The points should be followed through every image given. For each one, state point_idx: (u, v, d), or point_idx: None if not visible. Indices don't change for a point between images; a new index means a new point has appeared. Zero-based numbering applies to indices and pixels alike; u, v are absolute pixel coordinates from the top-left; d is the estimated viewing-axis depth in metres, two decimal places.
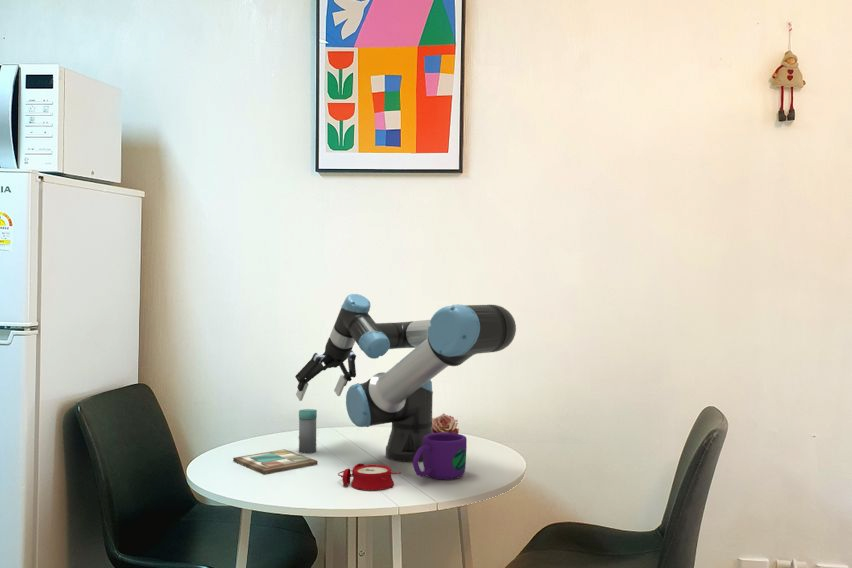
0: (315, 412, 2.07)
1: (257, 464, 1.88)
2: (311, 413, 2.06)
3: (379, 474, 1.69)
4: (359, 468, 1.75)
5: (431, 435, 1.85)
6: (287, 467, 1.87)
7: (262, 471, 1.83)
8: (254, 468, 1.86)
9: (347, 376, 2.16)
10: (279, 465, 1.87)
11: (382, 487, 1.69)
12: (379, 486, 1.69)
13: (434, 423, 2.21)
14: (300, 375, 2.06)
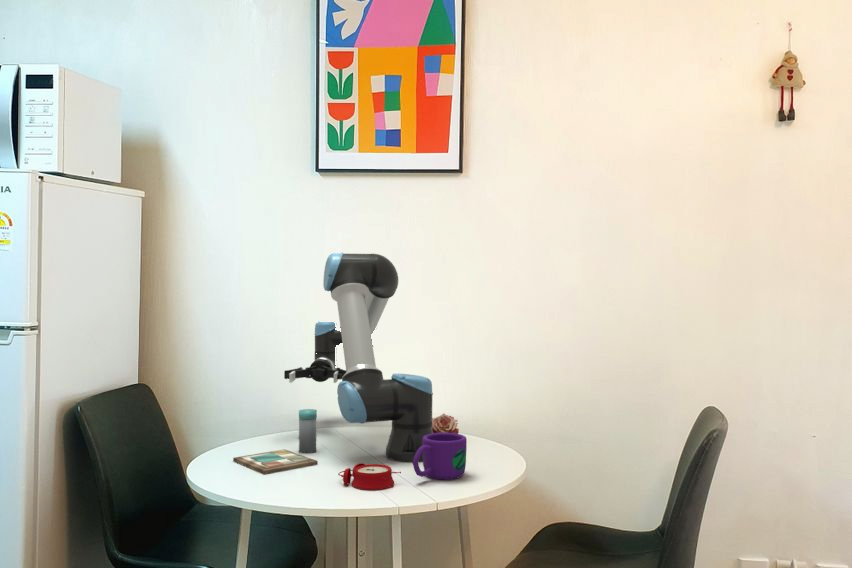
0: (315, 412, 2.07)
1: (257, 464, 1.88)
2: (311, 413, 2.06)
3: (380, 474, 1.69)
4: (359, 468, 1.75)
5: (431, 435, 1.85)
6: (287, 467, 1.87)
7: (262, 471, 1.83)
8: (254, 468, 1.86)
9: (337, 371, 2.26)
10: (279, 465, 1.87)
11: (383, 486, 1.69)
12: (380, 485, 1.69)
13: (434, 423, 2.21)
14: None
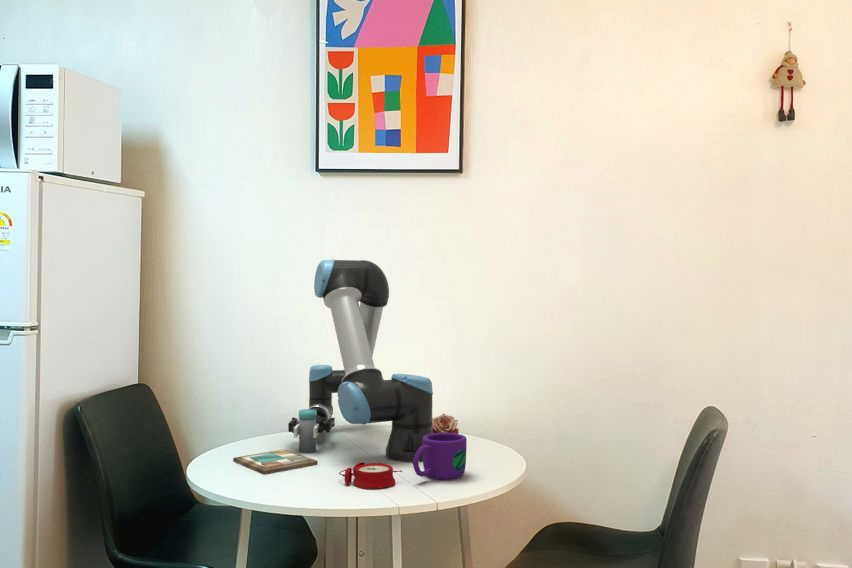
0: (315, 412, 2.07)
1: (257, 464, 1.88)
2: (311, 413, 2.06)
3: (381, 472, 1.70)
4: (360, 467, 1.76)
5: (431, 435, 1.85)
6: (287, 467, 1.87)
7: (262, 471, 1.83)
8: (254, 468, 1.86)
9: None
10: (279, 465, 1.87)
11: (384, 485, 1.70)
12: (382, 484, 1.70)
13: (434, 423, 2.21)
14: None
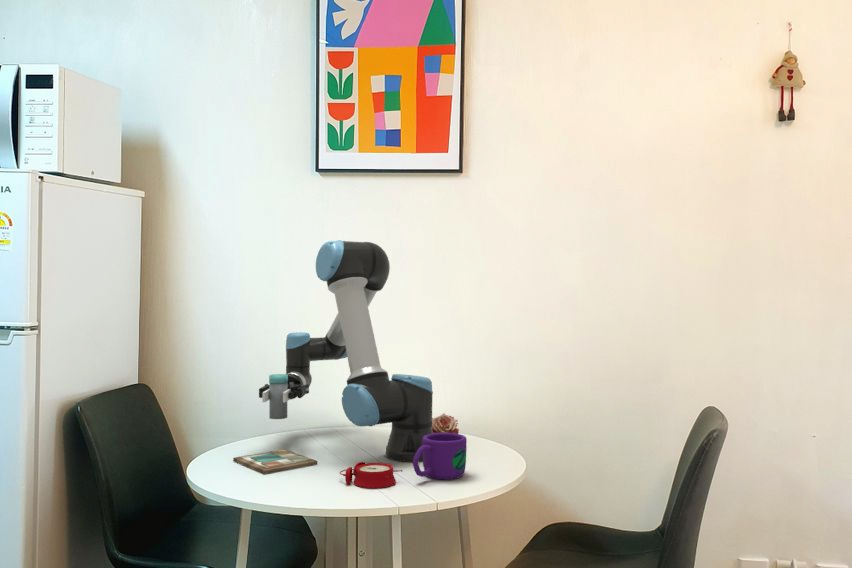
0: (286, 376, 1.99)
1: (257, 464, 1.88)
2: (281, 377, 1.98)
3: (382, 472, 1.71)
4: (361, 466, 1.77)
5: (431, 435, 1.85)
6: (287, 467, 1.87)
7: (262, 471, 1.83)
8: (254, 468, 1.86)
9: None
10: (279, 465, 1.87)
11: (385, 485, 1.71)
12: (382, 484, 1.70)
13: (434, 423, 2.21)
14: None
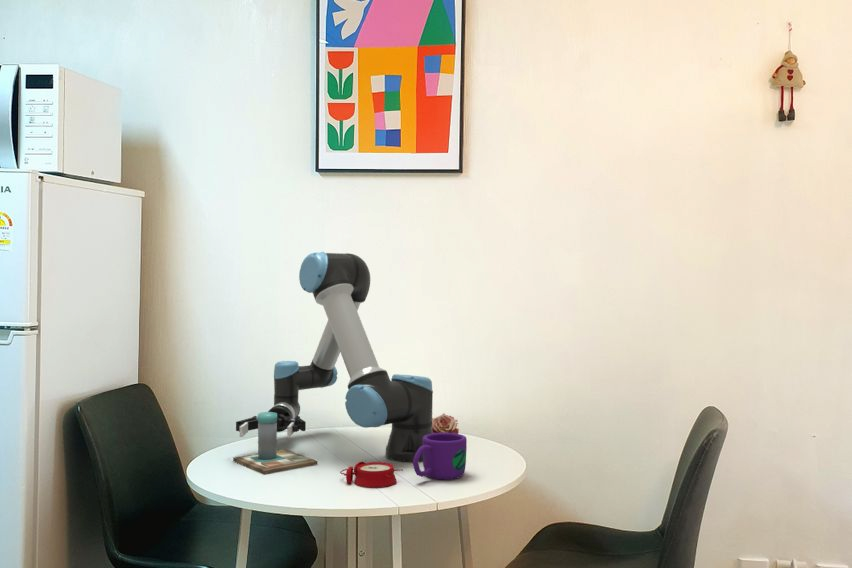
0: (275, 416, 1.93)
1: (257, 464, 1.88)
2: (271, 417, 1.92)
3: (383, 471, 1.72)
4: (361, 466, 1.77)
5: (431, 435, 1.85)
6: (287, 467, 1.87)
7: (262, 471, 1.83)
8: (254, 468, 1.86)
9: (294, 421, 1.99)
10: (279, 465, 1.87)
11: (386, 484, 1.71)
12: (383, 483, 1.71)
13: (434, 423, 2.21)
14: None
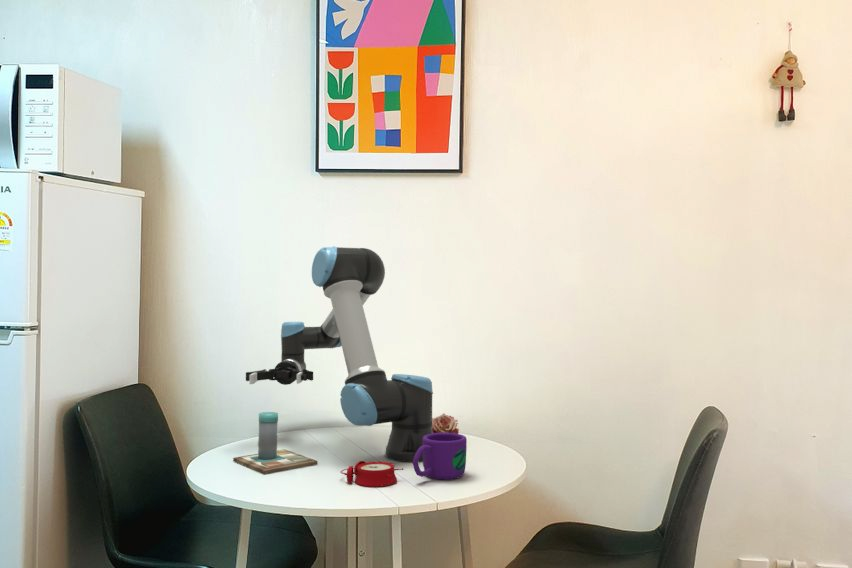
0: (276, 415, 1.94)
1: (257, 464, 1.88)
2: (272, 416, 1.93)
3: (384, 470, 1.72)
4: (362, 465, 1.78)
5: (431, 435, 1.85)
6: (287, 467, 1.87)
7: (262, 471, 1.83)
8: (254, 468, 1.86)
9: None
10: (279, 465, 1.87)
11: (387, 483, 1.72)
12: (384, 482, 1.72)
13: (434, 423, 2.21)
14: None
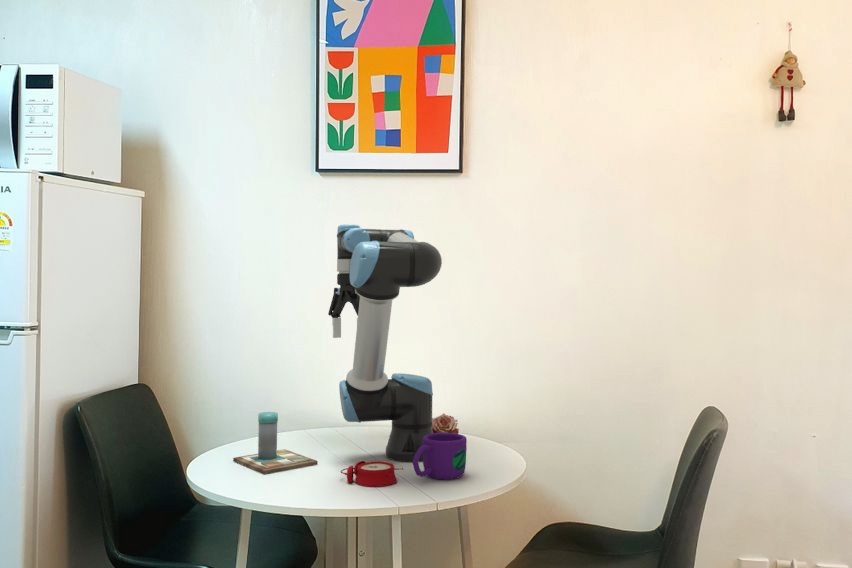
0: (276, 416, 1.94)
1: (257, 464, 1.88)
2: (272, 417, 1.92)
3: (384, 470, 1.72)
4: (362, 465, 1.78)
5: (431, 435, 1.85)
6: (287, 467, 1.87)
7: (262, 471, 1.83)
8: (254, 468, 1.86)
9: (358, 314, 2.21)
10: (279, 465, 1.87)
11: (387, 483, 1.72)
12: (384, 482, 1.72)
13: (434, 423, 2.21)
14: None
